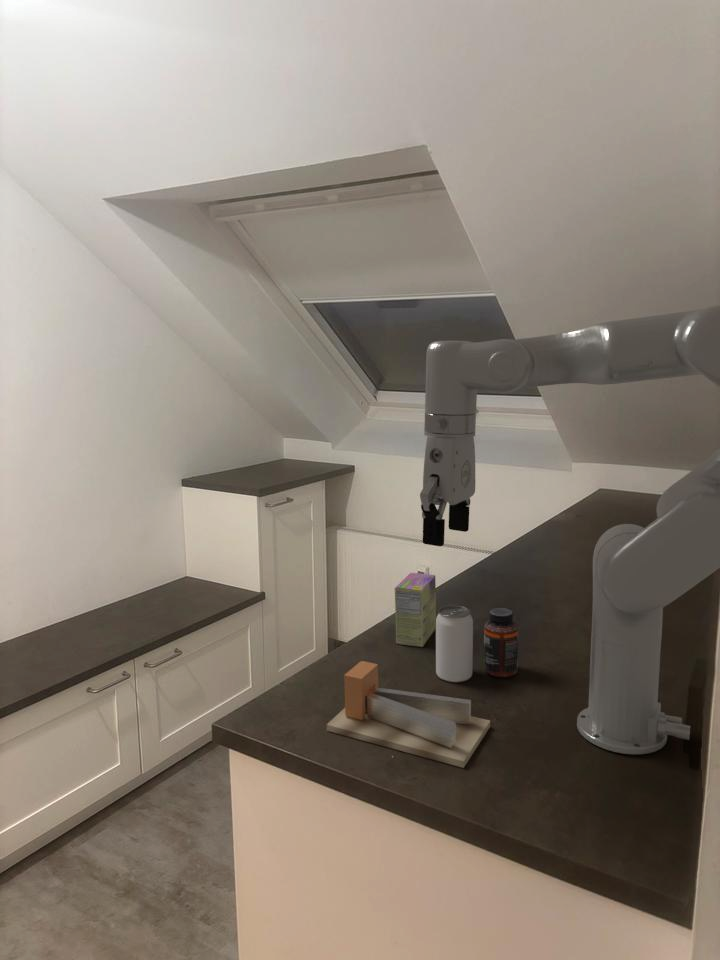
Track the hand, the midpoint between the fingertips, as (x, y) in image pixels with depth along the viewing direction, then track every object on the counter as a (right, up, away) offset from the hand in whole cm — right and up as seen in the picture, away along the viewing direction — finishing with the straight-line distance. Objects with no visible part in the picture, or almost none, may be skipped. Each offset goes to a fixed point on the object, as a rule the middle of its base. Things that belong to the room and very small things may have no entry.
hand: (446, 537), depth 105 cm
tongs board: (-6, -29, 0) cm, 30 cm away
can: (+4, -26, +18) cm, 32 cm away
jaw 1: (-4, -28, +1) cm, 28 cm away
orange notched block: (-13, -28, +4) cm, 31 cm away
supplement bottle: (+12, -26, +19) cm, 34 cm away
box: (-2, -23, +35) cm, 42 cm away
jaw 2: (-6, -29, -2) cm, 29 cm away
